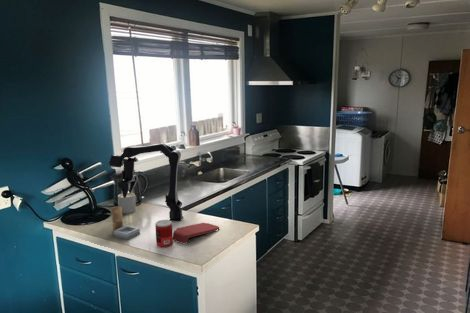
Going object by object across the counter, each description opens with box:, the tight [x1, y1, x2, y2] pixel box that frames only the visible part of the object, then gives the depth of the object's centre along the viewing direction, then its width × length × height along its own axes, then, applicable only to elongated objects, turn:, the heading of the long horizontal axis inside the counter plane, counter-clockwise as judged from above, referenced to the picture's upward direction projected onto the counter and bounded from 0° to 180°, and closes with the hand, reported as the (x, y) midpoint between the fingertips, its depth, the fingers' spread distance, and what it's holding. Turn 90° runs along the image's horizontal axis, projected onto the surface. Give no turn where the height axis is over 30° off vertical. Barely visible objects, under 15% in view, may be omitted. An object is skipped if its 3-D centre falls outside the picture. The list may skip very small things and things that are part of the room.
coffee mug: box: [117, 192, 137, 214], centre depth 227 cm, size 13×10×10 cm
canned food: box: [154, 219, 174, 248], centre depth 176 cm, size 8×8×11 cm
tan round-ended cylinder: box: [111, 205, 124, 233], centre depth 192 cm, size 5×5×13 cm
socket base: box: [113, 224, 141, 241], centre depth 188 cm, size 9×9×3 cm
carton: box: [172, 222, 220, 244], centre depth 190 cm, size 12×5×25 cm
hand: (127, 195), depth 209 cm, fingers open, 9 cm apart
